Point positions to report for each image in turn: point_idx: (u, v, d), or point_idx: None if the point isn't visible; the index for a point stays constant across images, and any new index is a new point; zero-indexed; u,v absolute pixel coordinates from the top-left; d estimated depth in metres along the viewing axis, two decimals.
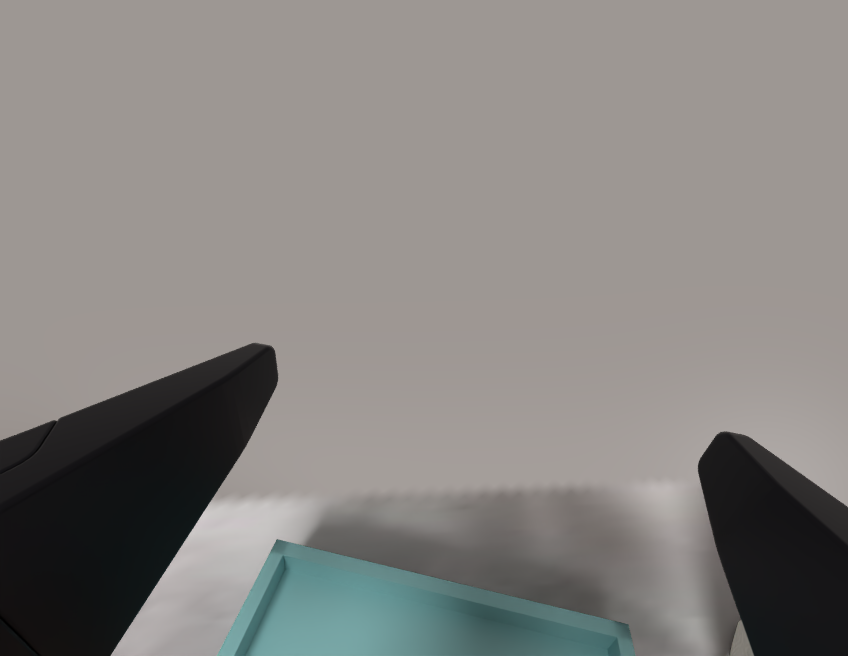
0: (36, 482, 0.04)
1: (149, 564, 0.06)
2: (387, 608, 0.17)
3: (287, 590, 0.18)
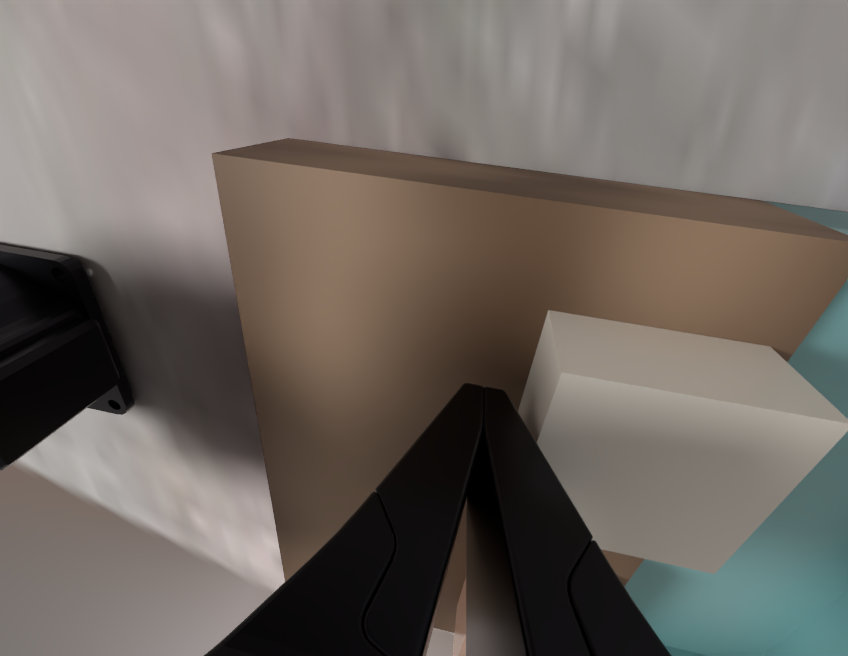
0: (429, 577, 0.04)
1: None
2: None
3: None
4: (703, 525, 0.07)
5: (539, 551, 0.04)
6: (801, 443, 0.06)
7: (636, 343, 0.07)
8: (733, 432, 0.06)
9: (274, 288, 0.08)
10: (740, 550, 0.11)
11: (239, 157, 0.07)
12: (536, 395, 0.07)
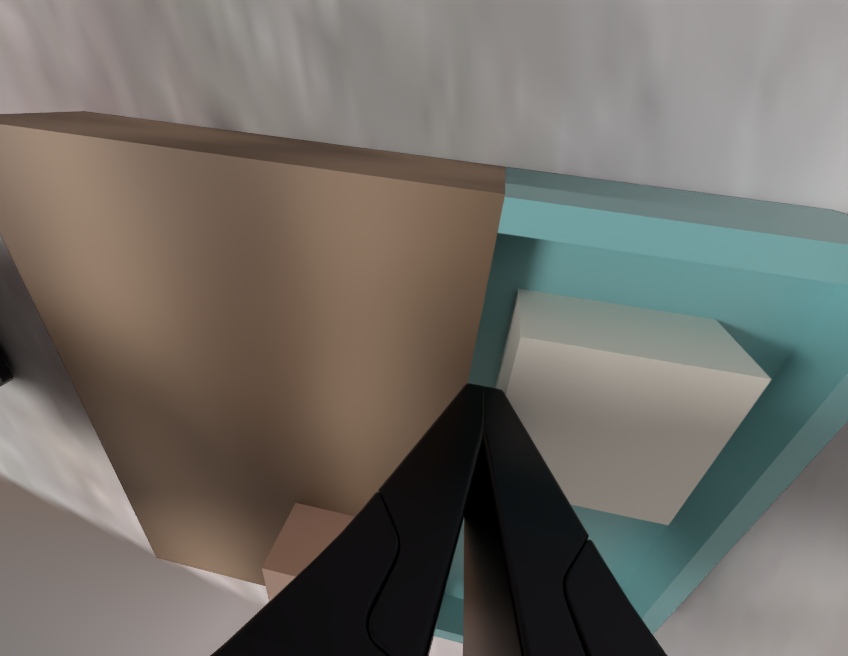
0: (433, 578, 0.04)
1: None
2: None
3: (787, 285, 0.07)
4: (653, 478, 0.08)
5: (535, 550, 0.04)
6: (730, 398, 0.07)
7: (593, 315, 0.08)
8: (671, 389, 0.07)
9: (40, 247, 0.09)
10: None
11: None
12: (506, 363, 0.08)
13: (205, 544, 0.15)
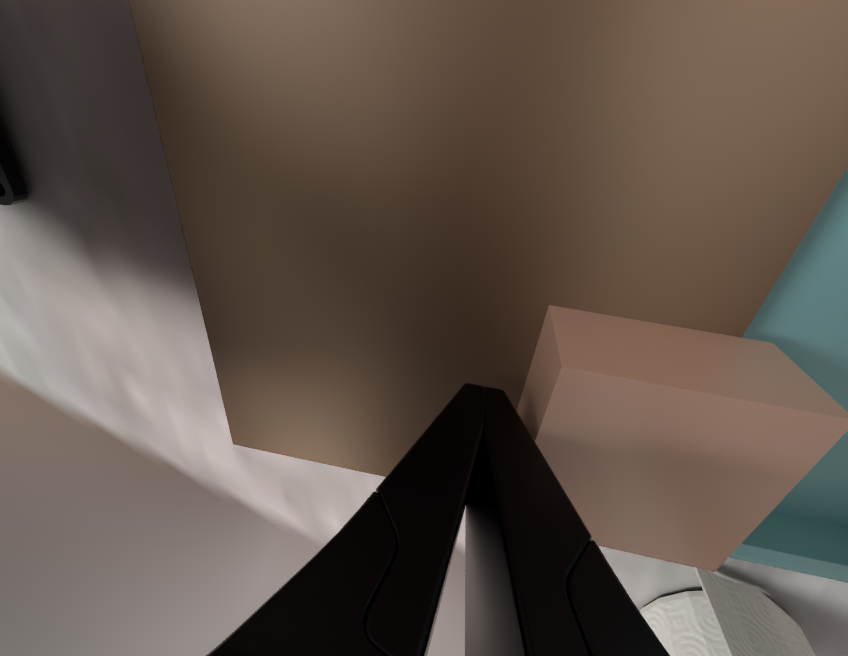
0: (431, 577, 0.04)
1: None
2: None
3: None
4: None
5: (538, 551, 0.04)
6: None
7: None
8: None
9: None
10: None
11: None
12: None
13: (315, 408, 0.10)
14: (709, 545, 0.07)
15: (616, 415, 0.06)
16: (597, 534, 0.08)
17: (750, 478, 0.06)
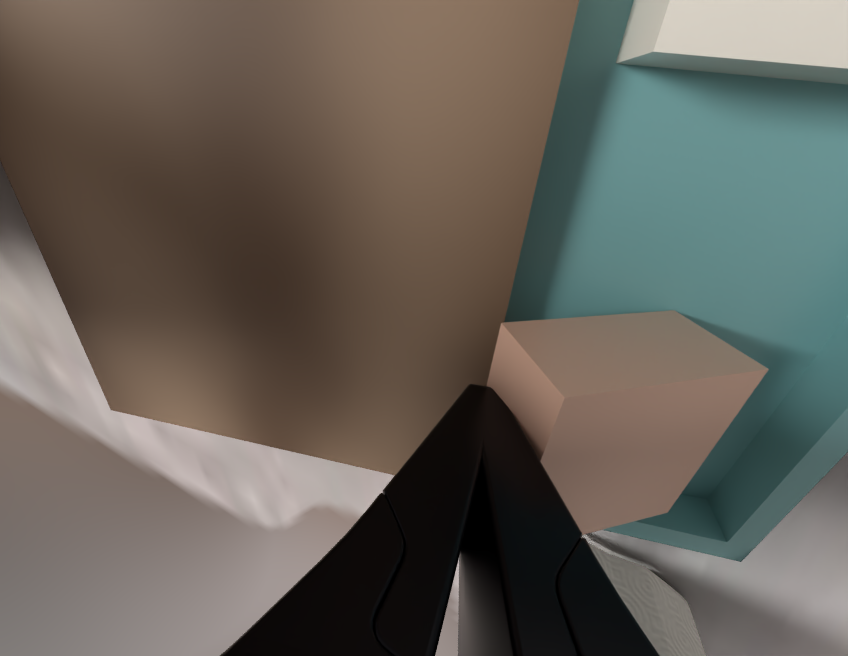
0: (439, 579, 0.04)
1: None
2: None
3: None
4: None
5: (528, 549, 0.04)
6: None
7: None
8: None
9: None
10: (675, 262, 0.08)
11: None
12: None
13: (171, 372, 0.11)
14: (666, 495, 0.08)
15: (607, 424, 0.06)
16: (585, 526, 0.08)
17: (699, 435, 0.07)
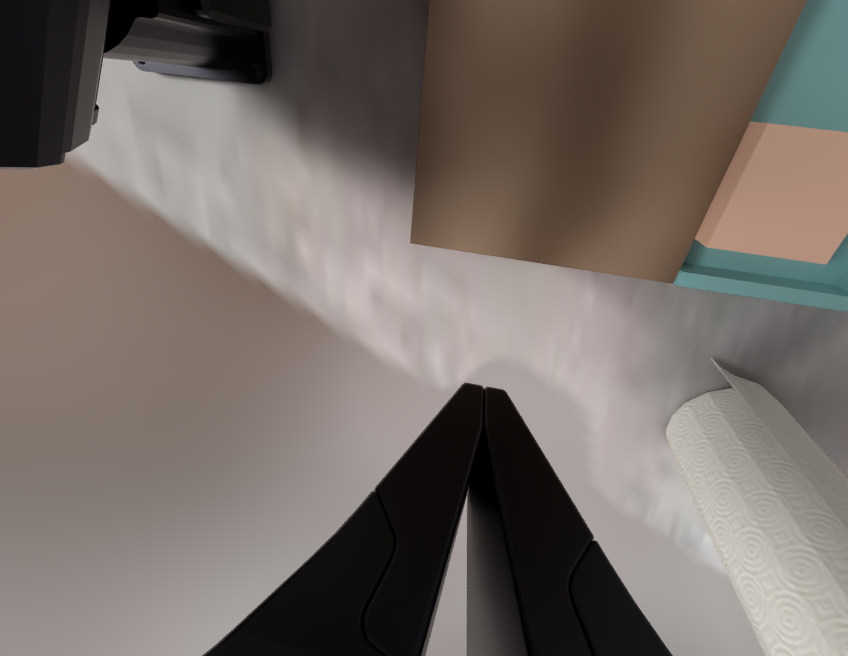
0: (428, 577, 0.04)
1: None
2: None
3: None
4: None
5: (540, 551, 0.04)
6: None
7: None
8: None
9: None
10: (847, 97, 0.13)
11: None
12: None
13: (478, 202, 0.16)
14: (826, 242, 0.13)
15: (789, 152, 0.12)
16: (761, 245, 0.14)
17: None
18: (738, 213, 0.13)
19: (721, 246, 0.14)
